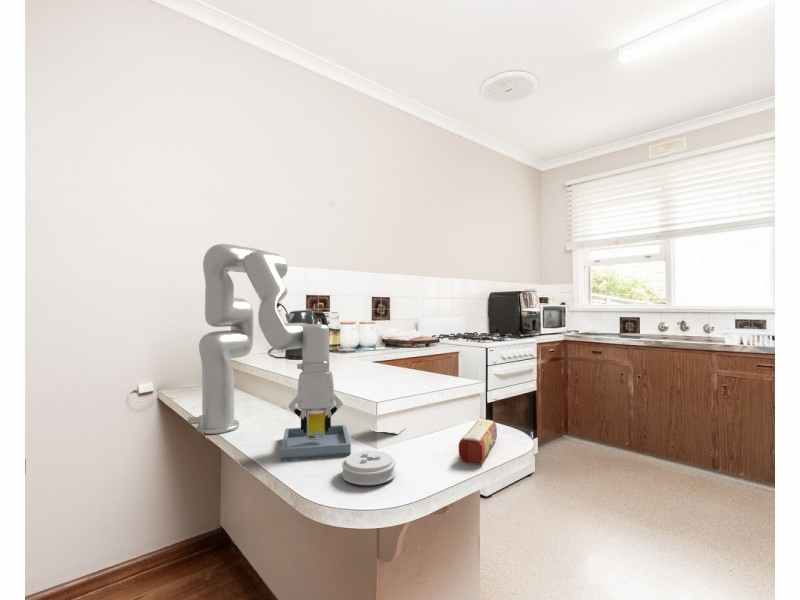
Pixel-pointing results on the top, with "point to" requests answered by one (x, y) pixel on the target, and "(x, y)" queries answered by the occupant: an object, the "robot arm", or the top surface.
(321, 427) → the supplement bottle
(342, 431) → the tray
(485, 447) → the snack package
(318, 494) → the top surface
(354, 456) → the lid
